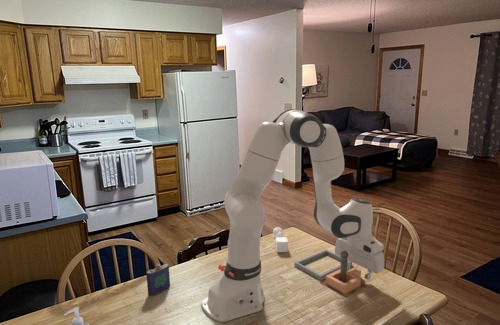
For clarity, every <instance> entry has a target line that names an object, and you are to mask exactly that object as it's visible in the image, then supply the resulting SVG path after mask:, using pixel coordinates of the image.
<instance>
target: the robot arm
mask: <svg viewBox="0 0 500 325" xmlns="http://www.w3.org/2000/svg"><path fill="white" fill-rule="evenodd" d="M338 133H339V132H338V131H337V128H336V127H335V126H334V125H332V124H329V123H322V121H321V120H320V119H319V117H317V116H315V115H314V114H312V113H310V112H309V113H308V112H307V111H305V110H300V109H294V108H293V109H292V108H291V109H286V110H284V111H282V112H281V113H280V114H279V115H277V117H276V118H275V119H274V120H273V121H263V122H261V123H260V124H259V125H258V127H256V130H255V131H254V133H253V135H252V137H251V139H250V141H249V143H248V146H247V149H246V152H245V155H244V158H243V161H242V163H241V166H240V169H239V171H238V173H237V175H236V177H235V178H234V180H233V182H232V184H231V186H230V187H229V190H227V192H226V194H225V196H224V200H223V201H224V202H223V203H224V209H225V211H226V214H227V215H228V219H229V234H228V240H227V261H226V264H225V265H224V264H223V263H219V264H218V267H217V268H218V270H220V271H221V272H223V273H221V275H220V276H219V277H218V278H217V279H216V280H215V281H214V282H213V284H212V285H211V286H210V287H209V289H208V293H207V297H205V298H203V299H202V300H201V309H202V310H203V312H204V313H205V314H206V315H207V316H209V317H210V318H211V319H213V320H215V321H217V322H220V323H225V322H229V321H233V320H236V319H238V318H241V317H245V316H248V315H251V314H255V313H258V312H261V311H263V309H264V308H263V303H264V301H265V294H264V290H263V286H262V278H261V272H262V261H261V258H260V257H261V236H262V232H263V227H264V226H265V223H266V214H265V210H264V206H263V205H262V204H261V202H260V201H259V200H260V197H261V196H262V194H263V192H264V191H265V188H266V187H267V186H269V185H270V184H271V182H272V180H273V177H274V175H275V172H276V169H277V166H278V163H279V161H280V159H281V158H280V157H281V155H282V152H283V150H284V148H286V146H287V145H288V144H290V143H291V144H293V145H297V146H299V147H301V148H308V150H309V155H310V161H311V167H312V180H313V190H314V199H315V204H314V209H313V210H314V211H313V219H314V221H315V223H316V224H317V225H318V226H320V227H322V228H324V229H325V230H326V231H327V232H329V233H330V234H331V235H333V236H334V237H335V238H336V241H335V245H334V253H335V254H336V255H338V256H340V257H341V252H342V251H346V252H348V257H347V271H348V270H350V269H351V266H350V264H349V263H348V260H349V261H351V262H352V264H355V265H357V266H360V267H362V268H364V269H366V270H367V272H366V273H364V278H365V280H368V281H369V280H371V278H372V274H373V273H376V274H379V273H381V272H383V270H384V269H385V254H384V252H383V250H384V249H385V246H384V244H383V243H382V242H380V241H379V240H378V239H377V238H375V237H374V236H373V231H372V226H373V223H374V222H373V220H374V213H373V212H374V210H373V205H372V203H371V202H370V201H368V200H366V199H365V198H360V197H352V198H350V200H349V202H348V203H346V204H345V205H344V206H342V207H339V206H338V205H337V204H336V203H335V201H334V200H333V196H332V193H333V192H332V185H331V184H332V181H333V180H336V179H338V178H339V177H340V176H342V175H343V172H344V170H345V158H344V152H343V151H344V150H343V146H342V143H341V140H340V137H339V134H338Z"/></svg>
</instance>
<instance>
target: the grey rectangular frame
mask: <svg viewBox="0 0 500 325" xmlns="http://www.w3.org/2000/svg"><path fill="white" fill-rule="evenodd" d="M326 255H327V256H329V257H331V258H333V259H335V260H337V261H339V262H341V257H340V256H338V255H336V253H335V252H332V251H331V250H328V249H324V250H321V251H319V252H317V253H314V254H312V255H309V256H307V257H304V258H302V259H299V260H298V261H295V262H294V268H298V269H299V270H300V271H302V272H304V273H306V274H308V275H310V276H312V277H313V278H314V279H317V280H318V281H324V280H326V276H327V275H329V274H331V273H333V272H335V271H337V270H339V269H341V264H340V265H338V266H336V267H333V268H331V269H330V270H327V271H325V272H323V273H318V272H316V271H314V270H312V269H310V268H309V267H307V266H305V264H307V263H310V262H311V261H312V262H313V261H314V260H316V259H319V258H321V257H323V256H326ZM348 263H349V264H350V267H351V266H353V262H351V261H349V260H348Z"/></svg>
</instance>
